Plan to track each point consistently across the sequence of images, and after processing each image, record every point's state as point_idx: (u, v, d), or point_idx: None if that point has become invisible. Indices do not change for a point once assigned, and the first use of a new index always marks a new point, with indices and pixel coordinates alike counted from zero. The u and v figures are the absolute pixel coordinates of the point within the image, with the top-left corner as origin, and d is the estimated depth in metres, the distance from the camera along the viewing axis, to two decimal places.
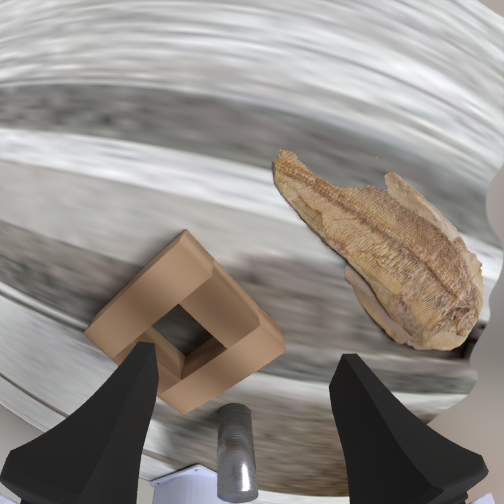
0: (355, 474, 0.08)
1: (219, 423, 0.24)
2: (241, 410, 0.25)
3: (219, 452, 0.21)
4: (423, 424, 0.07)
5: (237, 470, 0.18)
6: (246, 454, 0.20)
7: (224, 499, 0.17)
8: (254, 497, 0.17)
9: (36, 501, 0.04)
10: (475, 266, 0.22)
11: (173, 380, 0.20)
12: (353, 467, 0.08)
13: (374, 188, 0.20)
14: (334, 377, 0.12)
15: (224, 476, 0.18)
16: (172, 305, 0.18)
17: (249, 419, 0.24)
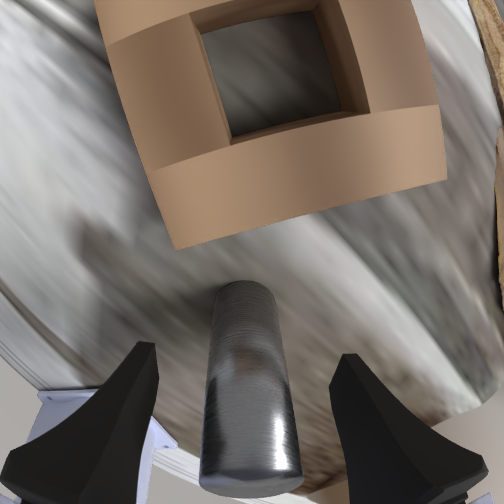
0: (355, 474, 0.08)
1: (223, 309, 0.13)
2: (269, 299, 0.14)
3: (221, 366, 0.10)
4: (423, 424, 0.07)
5: (272, 418, 0.08)
6: (286, 386, 0.10)
7: (209, 486, 0.07)
8: (281, 491, 0.07)
9: (36, 501, 0.04)
10: None
11: (212, 138, 0.09)
12: (353, 467, 0.08)
13: None
14: (334, 377, 0.12)
15: (240, 430, 0.07)
16: None
17: (278, 321, 0.14)
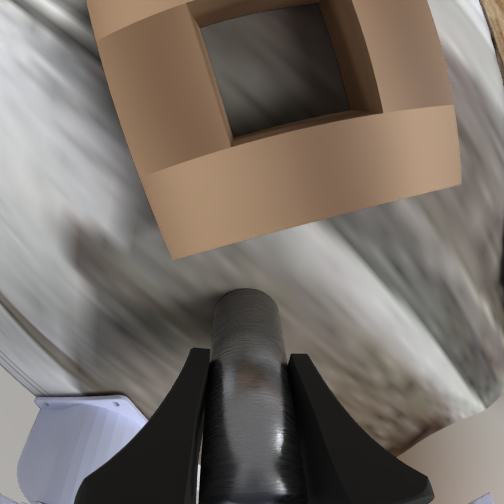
0: None
1: (223, 320, 0.12)
2: (272, 308, 0.13)
3: (221, 383, 0.09)
4: (365, 435, 0.07)
5: (276, 440, 0.07)
6: (290, 404, 0.09)
7: None
8: None
9: None
10: None
11: (211, 139, 0.08)
12: None
13: None
14: None
15: (241, 454, 0.07)
16: None
17: None
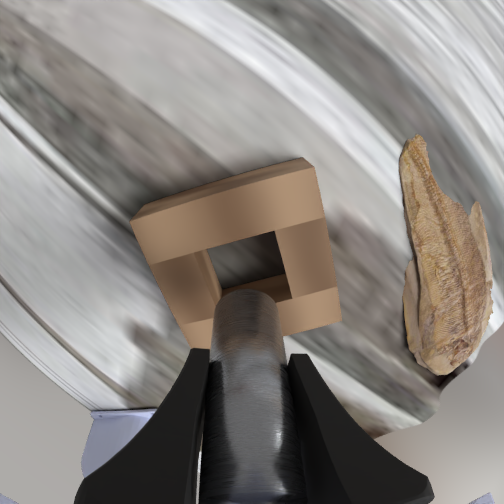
0: None
1: (223, 320, 0.12)
2: (272, 308, 0.13)
3: (221, 383, 0.09)
4: (365, 435, 0.07)
5: (276, 440, 0.07)
6: (289, 404, 0.09)
7: None
8: None
9: None
10: (489, 311, 0.24)
11: (211, 313, 0.18)
12: None
13: (462, 208, 0.19)
14: None
15: (241, 454, 0.07)
16: (266, 230, 0.16)
17: None
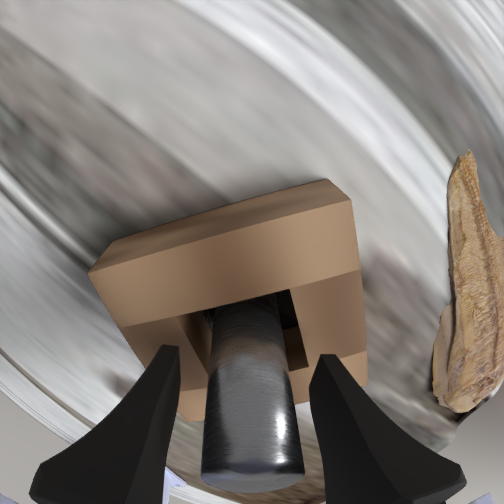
0: (331, 478, 0.08)
1: (224, 305, 0.13)
2: (271, 295, 0.14)
3: (223, 361, 0.10)
4: (399, 429, 0.07)
5: (274, 411, 0.08)
6: (286, 380, 0.10)
7: (211, 480, 0.07)
8: (282, 485, 0.08)
9: None
10: None
11: (203, 383, 0.14)
12: (329, 470, 0.08)
13: None
14: (313, 378, 0.11)
15: (241, 423, 0.08)
16: (278, 288, 0.11)
17: (279, 318, 0.14)
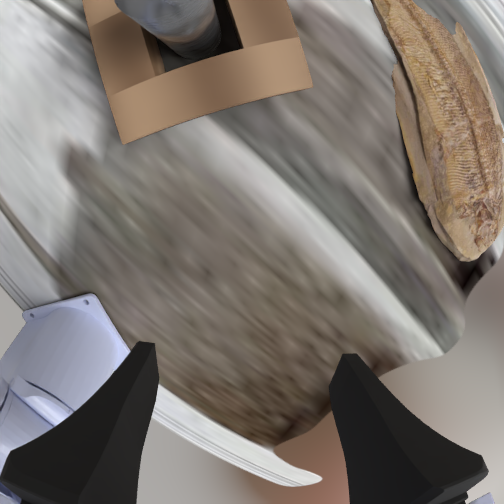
0: (355, 474, 0.08)
1: None
2: None
3: None
4: (423, 424, 0.07)
5: None
6: None
7: None
8: None
9: (36, 501, 0.04)
10: None
11: (145, 73, 0.13)
12: (353, 467, 0.08)
13: None
14: (334, 377, 0.12)
15: None
16: None
17: None
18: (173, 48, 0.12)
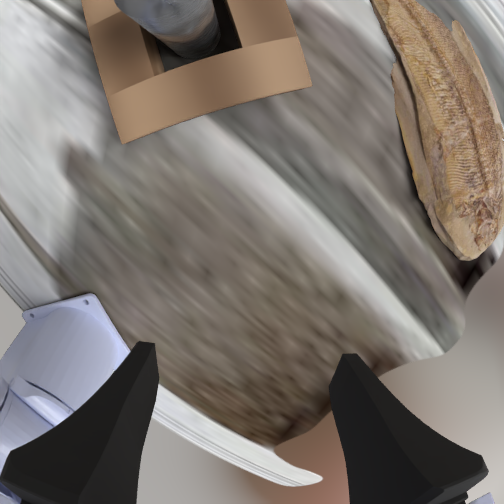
0: (355, 474, 0.08)
1: None
2: None
3: None
4: (423, 424, 0.07)
5: None
6: None
7: None
8: None
9: (36, 501, 0.04)
10: None
11: (144, 73, 0.13)
12: (353, 467, 0.08)
13: (440, 21, 0.13)
14: (334, 377, 0.12)
15: None
16: None
17: (218, 24, 0.13)
18: (172, 48, 0.12)
